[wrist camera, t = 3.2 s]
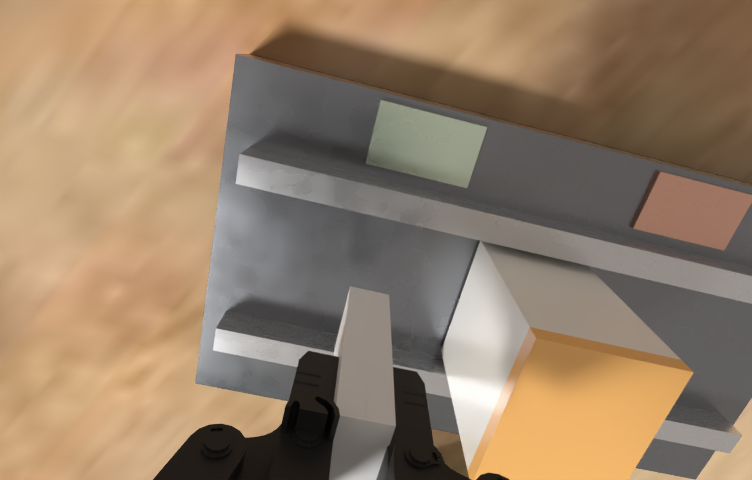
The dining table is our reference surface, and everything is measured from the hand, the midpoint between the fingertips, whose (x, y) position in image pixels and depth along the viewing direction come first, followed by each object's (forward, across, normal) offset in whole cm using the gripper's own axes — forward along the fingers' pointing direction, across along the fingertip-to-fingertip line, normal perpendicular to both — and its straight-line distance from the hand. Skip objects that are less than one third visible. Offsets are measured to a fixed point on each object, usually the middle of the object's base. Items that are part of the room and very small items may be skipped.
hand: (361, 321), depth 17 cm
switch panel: (+6, +7, 0) cm, 9 cm away
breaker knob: (+4, +7, 0) cm, 8 cm away
